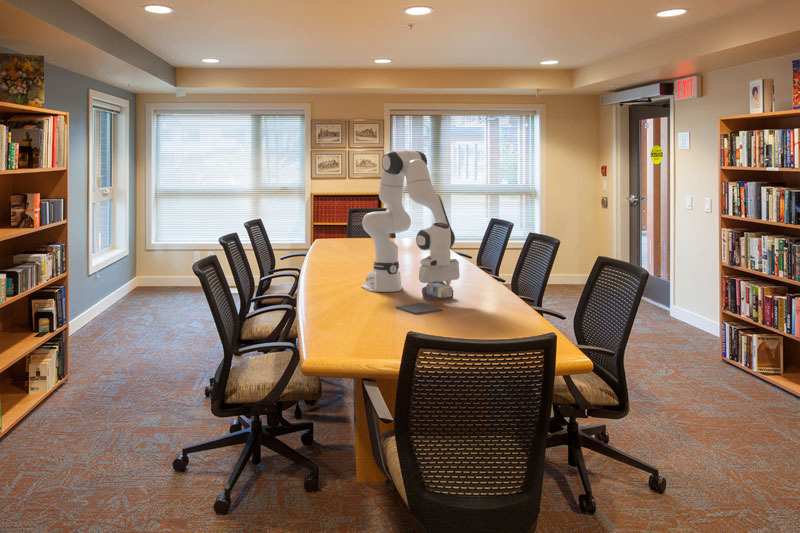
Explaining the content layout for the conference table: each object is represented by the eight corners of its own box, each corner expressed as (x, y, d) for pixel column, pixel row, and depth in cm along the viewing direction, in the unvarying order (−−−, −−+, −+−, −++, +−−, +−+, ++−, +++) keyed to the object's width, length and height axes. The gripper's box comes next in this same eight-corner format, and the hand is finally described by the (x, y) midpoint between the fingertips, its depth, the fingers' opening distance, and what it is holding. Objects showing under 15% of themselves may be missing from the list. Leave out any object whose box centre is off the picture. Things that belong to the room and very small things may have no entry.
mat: (395, 308, 294) (395, 306, 294) (422, 304, 302) (422, 303, 302) (415, 314, 282) (415, 312, 282) (442, 310, 290) (442, 308, 290)
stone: (422, 279, 310) (454, 277, 313) (419, 277, 316) (450, 275, 319) (423, 301, 311) (455, 299, 314) (420, 300, 317) (451, 298, 320)
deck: (426, 293, 306) (426, 284, 305) (437, 291, 309) (437, 282, 308) (441, 297, 297) (441, 288, 296) (452, 296, 300) (452, 287, 299)
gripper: (454, 257, 308) (453, 287, 311) (417, 260, 297) (416, 291, 299) (463, 259, 303) (462, 290, 306) (425, 262, 292) (424, 294, 294)
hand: (439, 291), depth 302 cm, fingers closed on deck, 6 cm apart
